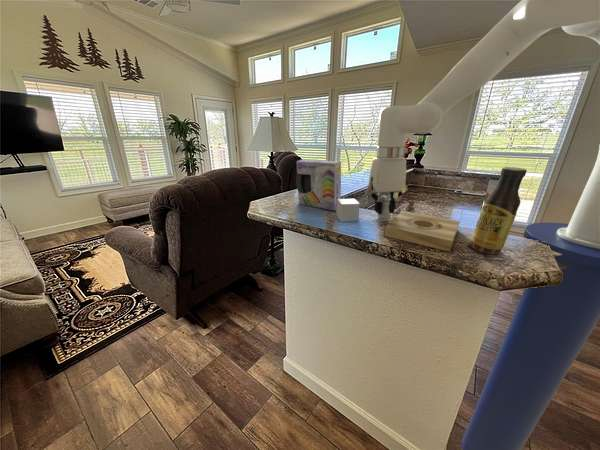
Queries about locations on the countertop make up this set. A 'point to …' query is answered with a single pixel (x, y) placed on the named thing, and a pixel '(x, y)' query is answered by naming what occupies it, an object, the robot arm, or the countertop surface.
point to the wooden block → (423, 230)
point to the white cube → (348, 209)
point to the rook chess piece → (385, 209)
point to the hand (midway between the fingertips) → (384, 211)
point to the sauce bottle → (498, 212)
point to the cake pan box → (319, 183)
